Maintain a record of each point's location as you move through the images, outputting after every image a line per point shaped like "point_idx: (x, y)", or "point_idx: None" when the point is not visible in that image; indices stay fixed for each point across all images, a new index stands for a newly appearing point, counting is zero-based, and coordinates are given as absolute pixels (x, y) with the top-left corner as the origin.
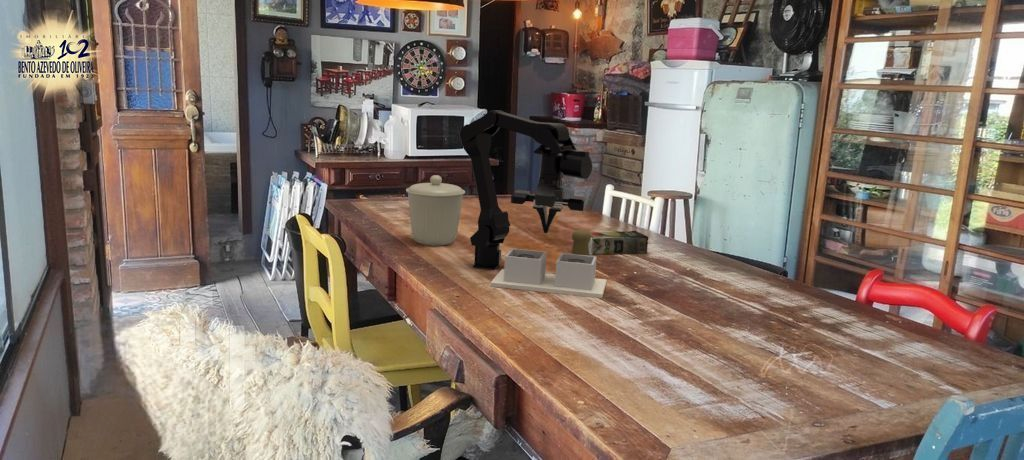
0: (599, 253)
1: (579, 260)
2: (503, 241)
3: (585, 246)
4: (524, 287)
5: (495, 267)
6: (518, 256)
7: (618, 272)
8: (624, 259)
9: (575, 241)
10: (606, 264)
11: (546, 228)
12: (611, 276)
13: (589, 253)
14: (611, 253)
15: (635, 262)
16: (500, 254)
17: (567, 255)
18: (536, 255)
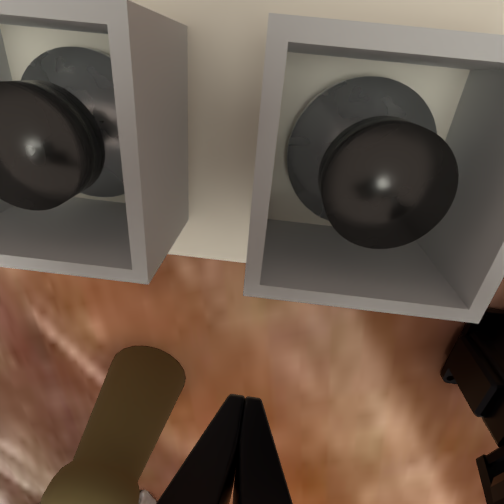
0: None
1: (6, 173)
2: (478, 466)
3: (82, 444)
4: None
5: None
6: (453, 165)
7: (18, 360)
8: (48, 468)
9: (119, 468)
10: (80, 425)
11: (229, 434)
12: (22, 315)
13: (149, 496)
14: None
15: (11, 450)
16: (470, 389)
17: (107, 261)
18: (308, 274)
